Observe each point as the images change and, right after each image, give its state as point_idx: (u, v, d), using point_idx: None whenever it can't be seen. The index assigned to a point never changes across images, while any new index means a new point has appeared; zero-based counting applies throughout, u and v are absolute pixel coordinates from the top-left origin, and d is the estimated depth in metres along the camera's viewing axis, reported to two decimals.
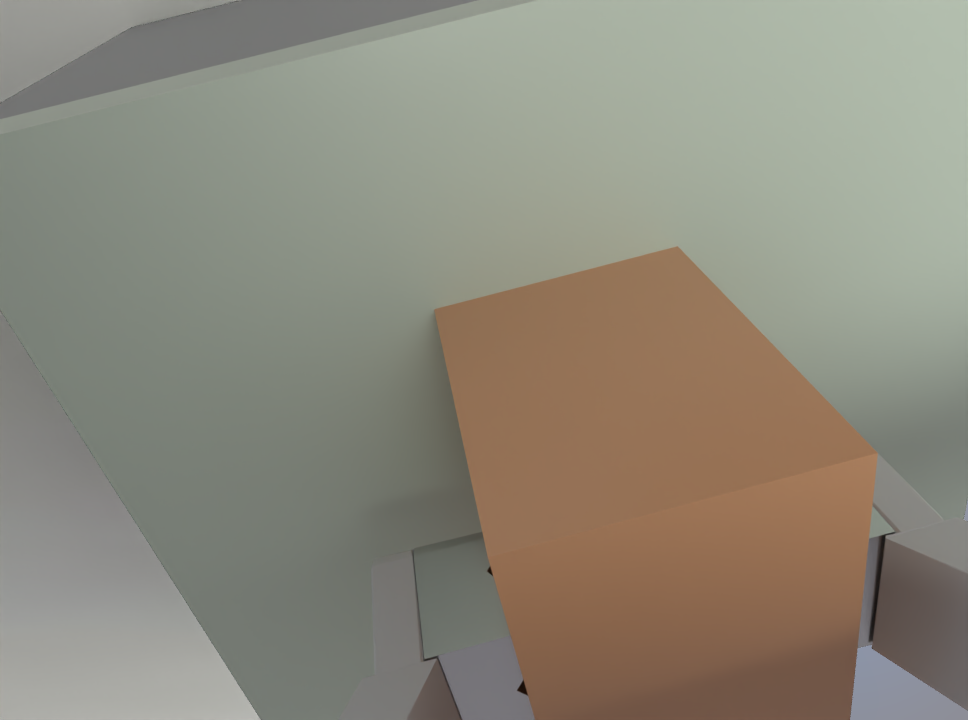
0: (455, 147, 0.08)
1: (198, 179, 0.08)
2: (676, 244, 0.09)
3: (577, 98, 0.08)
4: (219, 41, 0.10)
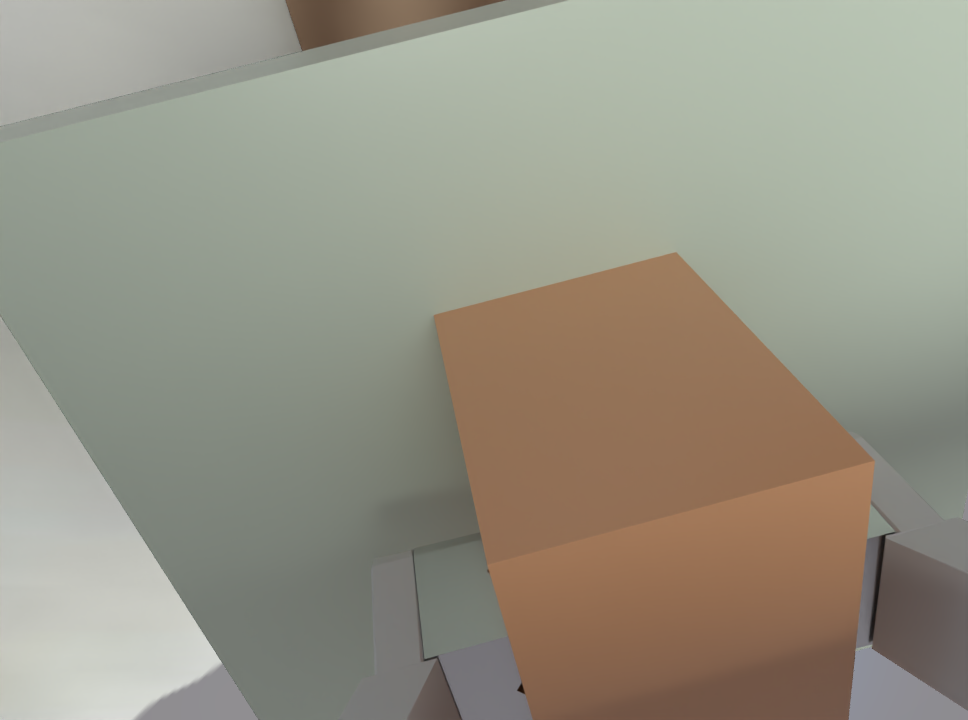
0: (454, 154, 0.08)
1: (198, 186, 0.08)
2: (674, 250, 0.09)
3: (576, 105, 0.08)
4: None
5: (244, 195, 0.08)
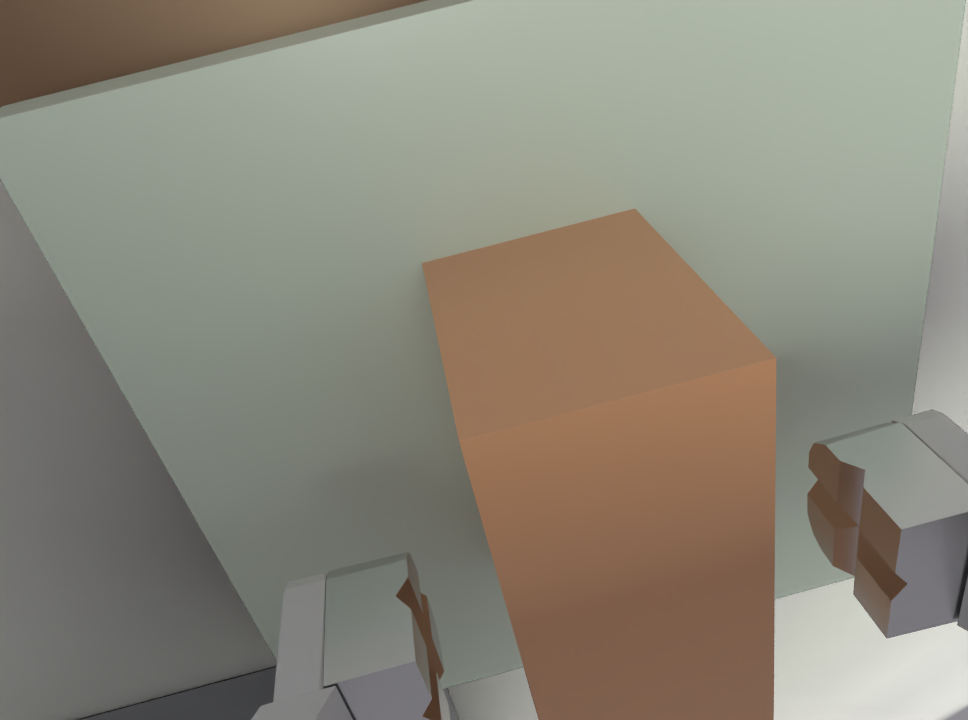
0: (438, 119, 0.09)
1: (218, 145, 0.09)
2: (633, 206, 0.10)
3: (543, 76, 0.09)
4: None
5: (257, 153, 0.09)
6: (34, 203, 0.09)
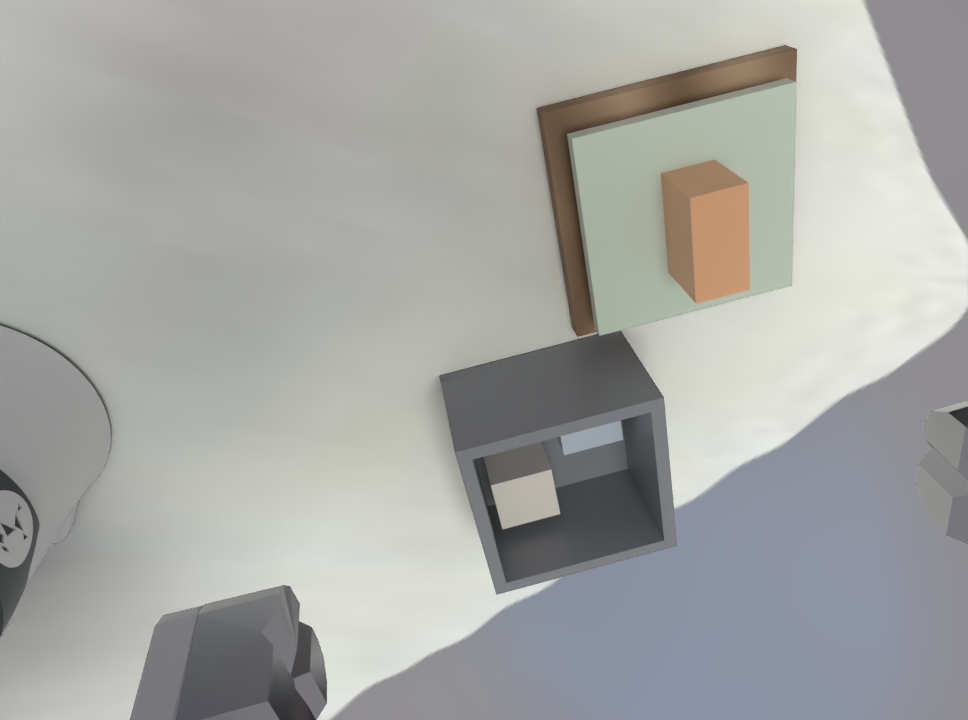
0: (670, 137, 0.39)
1: (621, 143, 0.39)
2: (714, 159, 0.40)
3: (695, 127, 0.39)
4: (494, 418, 0.43)
5: (629, 145, 0.39)
6: (578, 156, 0.39)
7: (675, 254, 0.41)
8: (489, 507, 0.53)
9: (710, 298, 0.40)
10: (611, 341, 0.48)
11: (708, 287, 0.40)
